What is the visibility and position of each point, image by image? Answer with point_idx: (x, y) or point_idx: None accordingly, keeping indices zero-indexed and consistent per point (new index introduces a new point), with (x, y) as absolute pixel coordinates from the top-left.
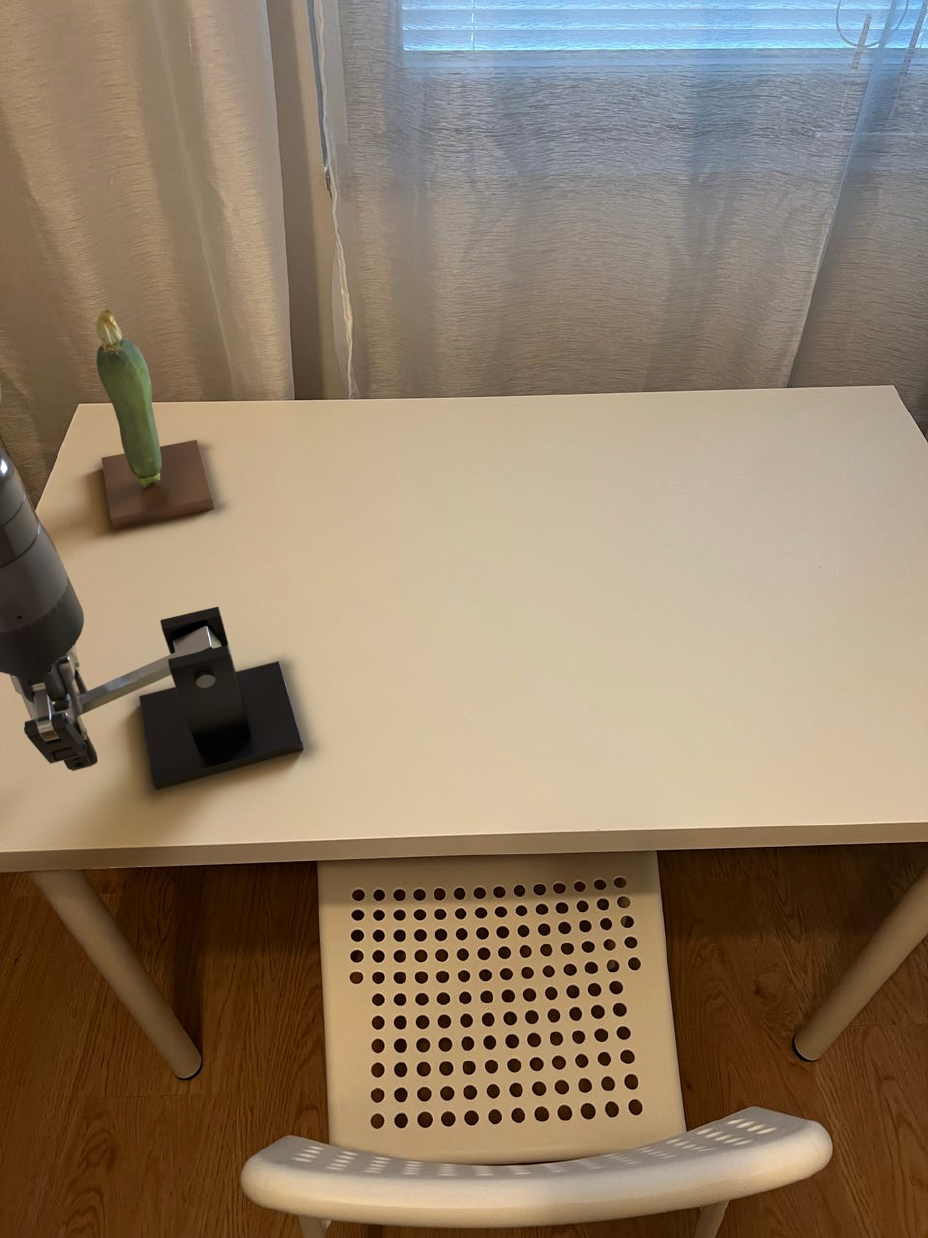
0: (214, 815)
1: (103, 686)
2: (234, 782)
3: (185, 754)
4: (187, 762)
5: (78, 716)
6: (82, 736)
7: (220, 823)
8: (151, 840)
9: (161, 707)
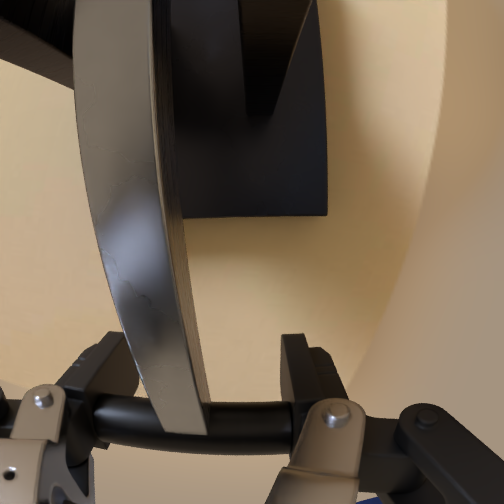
0: (397, 124)
1: (142, 351)
2: (342, 75)
3: (276, 140)
4: (298, 139)
5: (325, 463)
6: (363, 421)
7: (412, 119)
8: (408, 233)
9: None
